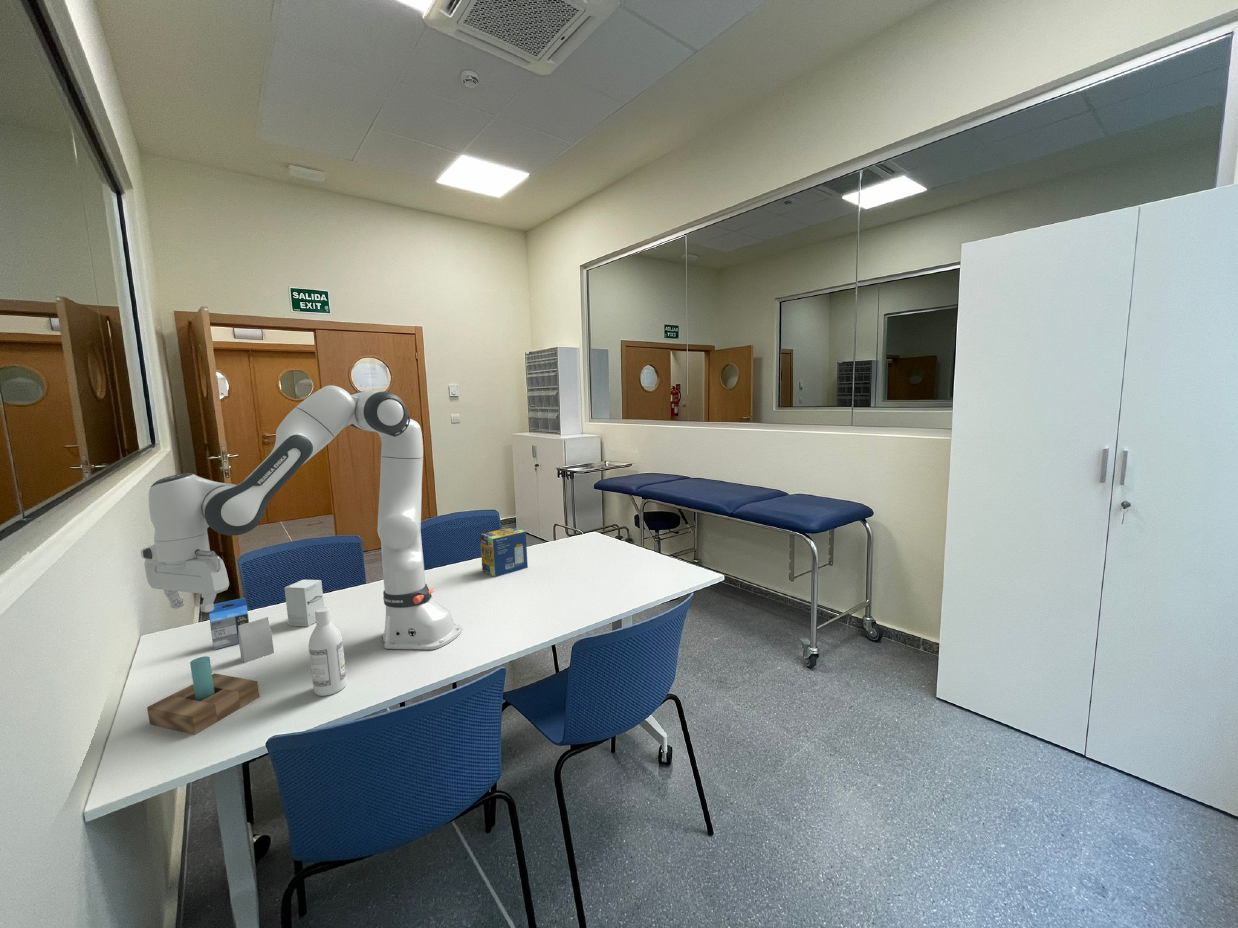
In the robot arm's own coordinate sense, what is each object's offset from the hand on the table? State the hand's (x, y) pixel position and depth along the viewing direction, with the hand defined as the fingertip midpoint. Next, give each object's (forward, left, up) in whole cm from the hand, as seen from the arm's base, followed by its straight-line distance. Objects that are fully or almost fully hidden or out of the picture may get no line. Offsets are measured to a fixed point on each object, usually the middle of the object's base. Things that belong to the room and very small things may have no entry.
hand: (192, 609), depth 112 cm
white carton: (+13, -22, -24) cm, 35 cm away
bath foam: (-21, -14, -24) cm, 35 cm away
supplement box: (+19, -43, -24) cm, 53 cm away
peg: (0, 0, -24) cm, 24 cm away
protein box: (-19, -101, -24) cm, 105 cm away
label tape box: (+28, -26, -24) cm, 45 cm away
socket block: (0, 0, -24) cm, 24 cm away
